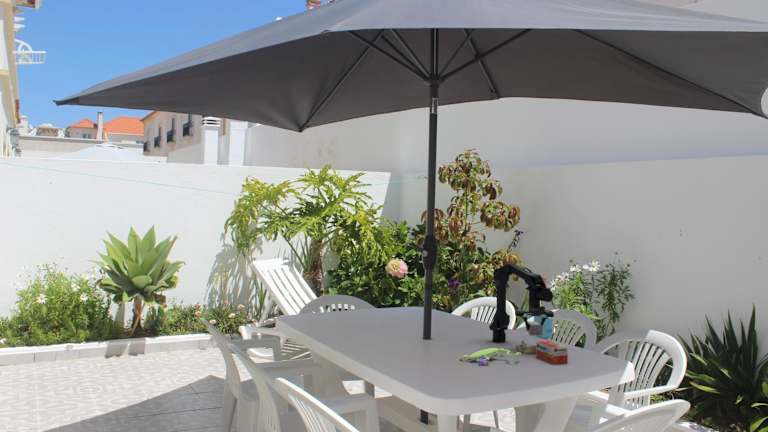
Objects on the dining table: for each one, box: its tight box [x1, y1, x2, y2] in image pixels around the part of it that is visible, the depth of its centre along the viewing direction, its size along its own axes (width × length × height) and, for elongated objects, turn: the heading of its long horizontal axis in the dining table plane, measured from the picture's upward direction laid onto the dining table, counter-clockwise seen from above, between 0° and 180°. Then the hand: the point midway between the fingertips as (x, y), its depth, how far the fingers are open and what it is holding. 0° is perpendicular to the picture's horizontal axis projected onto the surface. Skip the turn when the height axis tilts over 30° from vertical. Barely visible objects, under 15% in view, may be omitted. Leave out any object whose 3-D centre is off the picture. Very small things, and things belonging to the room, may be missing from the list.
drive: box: [525, 321, 542, 336], centre depth 337 cm, size 6×10×5 cm, turn 0°
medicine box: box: [535, 340, 569, 365], centre depth 316 cm, size 15×8×8 cm, turn 19°
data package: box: [533, 315, 553, 339], centre depth 374 cm, size 12×4×12 cm, turn 19°
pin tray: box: [515, 340, 536, 355], centre depth 337 cm, size 16×16×4 cm
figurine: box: [459, 347, 522, 366], centre depth 315 cm, size 18×27×6 cm
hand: (534, 330), depth 337 cm, fingers closed on drive, 6 cm apart
